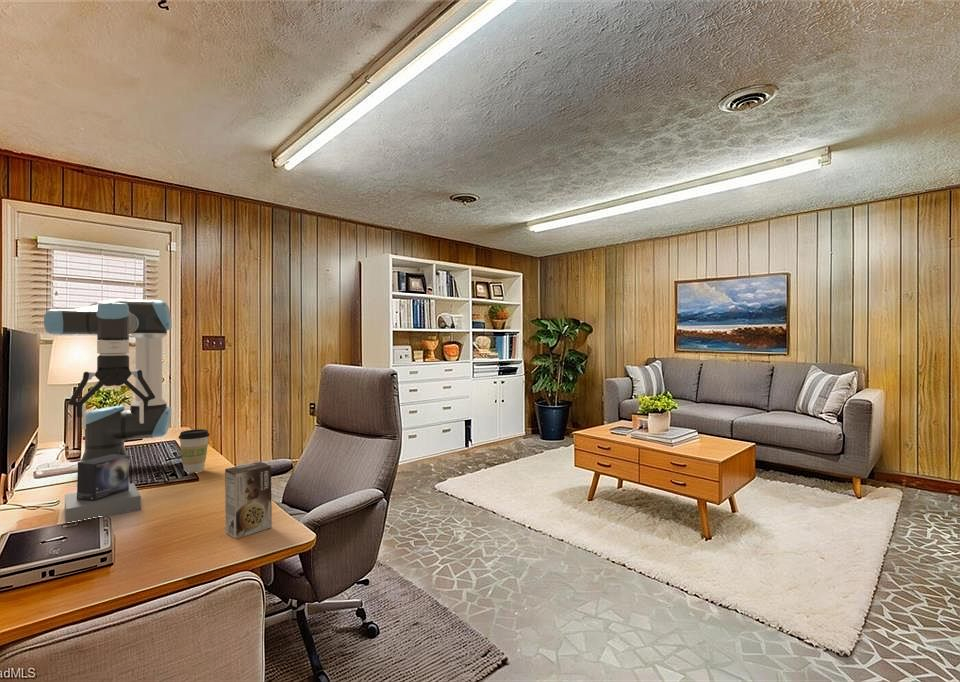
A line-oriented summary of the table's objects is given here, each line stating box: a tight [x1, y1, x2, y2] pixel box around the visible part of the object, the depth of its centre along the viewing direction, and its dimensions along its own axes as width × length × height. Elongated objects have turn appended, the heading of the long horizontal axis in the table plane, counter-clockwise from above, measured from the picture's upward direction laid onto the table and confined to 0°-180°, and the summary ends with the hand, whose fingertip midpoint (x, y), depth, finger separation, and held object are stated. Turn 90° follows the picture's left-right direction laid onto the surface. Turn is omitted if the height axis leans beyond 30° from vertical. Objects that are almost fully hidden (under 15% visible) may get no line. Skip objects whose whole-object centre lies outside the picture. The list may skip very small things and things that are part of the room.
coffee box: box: [224, 461, 273, 539], centre depth 118 cm, size 9×6×16 cm
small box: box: [76, 454, 130, 501], centre depth 134 cm, size 11×6×10 cm, turn 168°
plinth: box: [64, 483, 142, 524], centre depth 134 cm, size 16×16×4 cm
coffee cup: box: [178, 428, 210, 473], centre depth 172 cm, size 10×10×15 cm
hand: (113, 425), depth 139 cm, fingers open, 13 cm apart
